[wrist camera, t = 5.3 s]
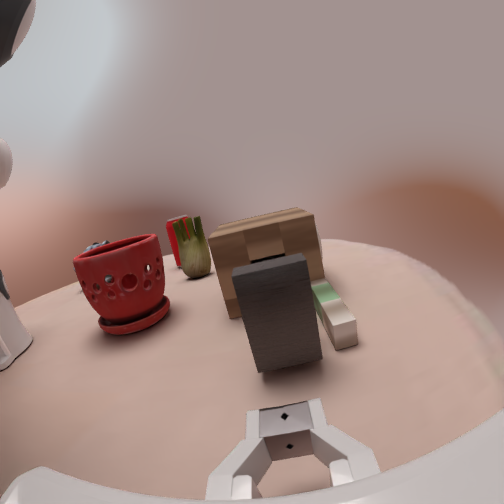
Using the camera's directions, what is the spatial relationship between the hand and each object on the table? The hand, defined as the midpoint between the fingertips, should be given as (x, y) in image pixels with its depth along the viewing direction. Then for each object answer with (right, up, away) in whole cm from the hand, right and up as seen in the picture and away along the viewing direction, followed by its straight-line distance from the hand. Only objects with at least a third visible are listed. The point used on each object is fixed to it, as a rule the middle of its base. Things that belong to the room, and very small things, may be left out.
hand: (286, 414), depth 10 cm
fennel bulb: (-12, +1, +46) cm, 47 cm away
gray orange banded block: (+2, 0, +18) cm, 18 cm away
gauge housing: (+2, 0, +23) cm, 23 cm away
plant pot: (-18, -4, +28) cm, 34 cm away
